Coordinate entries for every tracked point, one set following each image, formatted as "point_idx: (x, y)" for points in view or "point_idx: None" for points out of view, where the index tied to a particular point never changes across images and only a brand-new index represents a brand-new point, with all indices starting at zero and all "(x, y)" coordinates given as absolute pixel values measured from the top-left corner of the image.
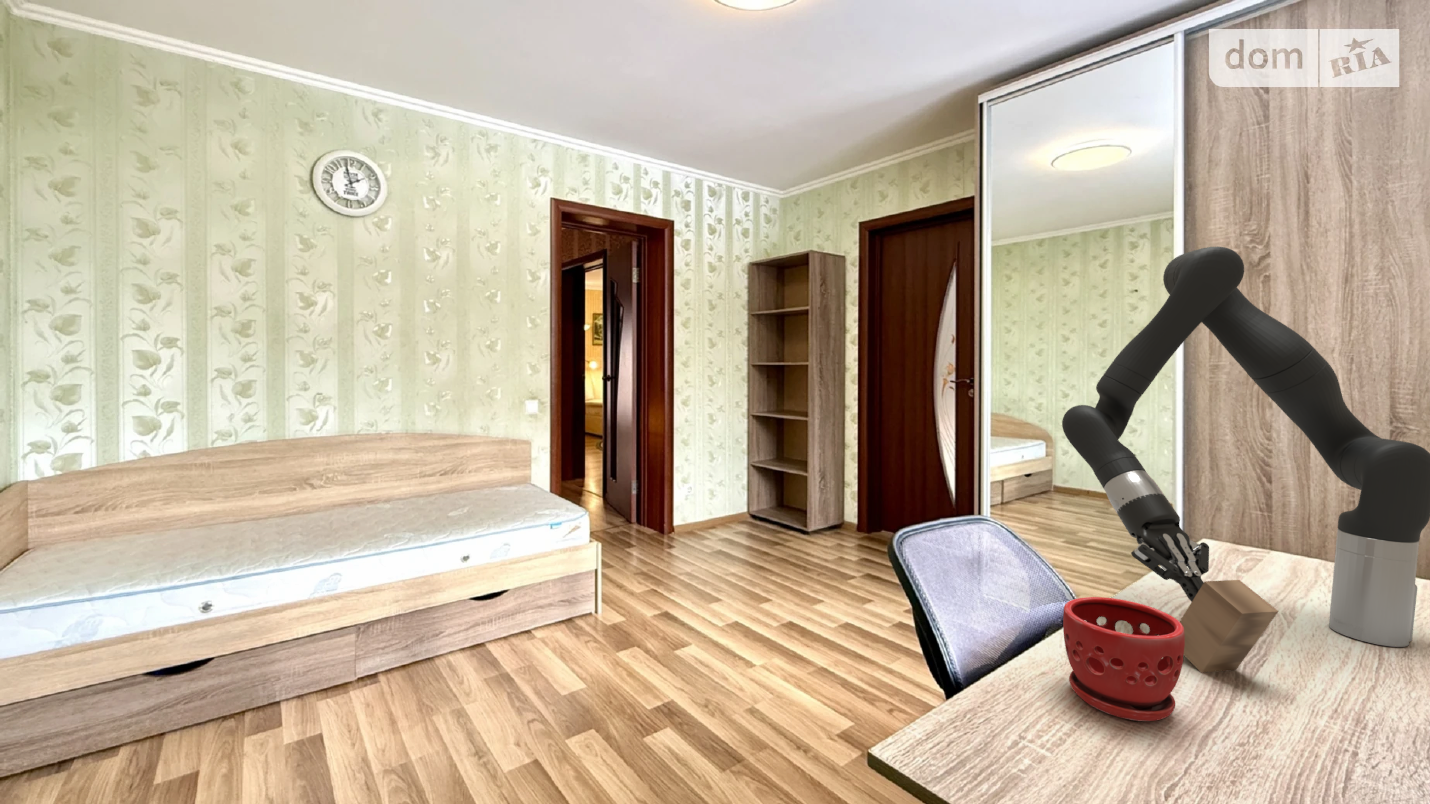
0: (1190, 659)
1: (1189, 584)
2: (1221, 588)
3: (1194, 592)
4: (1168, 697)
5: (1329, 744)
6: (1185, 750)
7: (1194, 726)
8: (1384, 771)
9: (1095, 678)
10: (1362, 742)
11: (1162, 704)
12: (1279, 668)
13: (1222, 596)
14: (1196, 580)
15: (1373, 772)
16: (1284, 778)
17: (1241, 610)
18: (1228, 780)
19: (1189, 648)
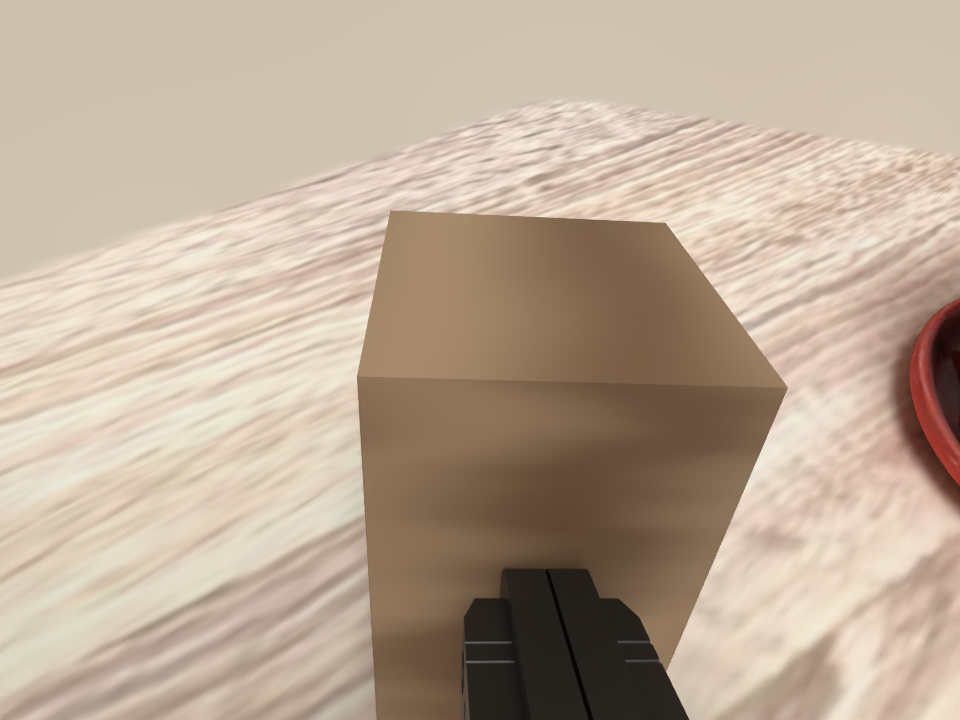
0: None
1: (668, 697)
2: (661, 331)
3: (639, 636)
4: (935, 346)
5: (563, 206)
6: (949, 246)
7: (864, 308)
8: (545, 136)
9: None
10: (467, 198)
11: (951, 346)
12: (168, 553)
13: (712, 290)
14: (587, 698)
15: (574, 138)
16: (788, 158)
17: (653, 230)
18: (912, 172)
19: None
